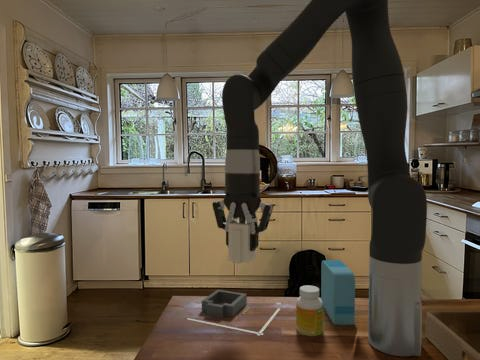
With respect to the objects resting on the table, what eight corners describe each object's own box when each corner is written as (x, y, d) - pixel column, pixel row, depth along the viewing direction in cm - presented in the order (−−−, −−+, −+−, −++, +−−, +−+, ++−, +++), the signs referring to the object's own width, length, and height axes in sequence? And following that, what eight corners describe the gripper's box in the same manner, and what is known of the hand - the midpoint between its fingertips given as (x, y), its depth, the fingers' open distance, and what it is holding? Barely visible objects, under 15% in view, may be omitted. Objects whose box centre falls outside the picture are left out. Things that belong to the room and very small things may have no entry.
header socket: (253, 305, 85) (253, 295, 85) (237, 321, 76) (237, 310, 76) (217, 299, 89) (217, 289, 89) (198, 313, 80) (198, 302, 80)
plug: (255, 257, 78) (255, 215, 77) (245, 264, 73) (246, 219, 72) (236, 255, 80) (237, 213, 79) (226, 261, 74) (226, 217, 74)
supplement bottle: (321, 343, 69) (321, 294, 68) (293, 338, 71) (293, 291, 70) (324, 330, 74) (324, 285, 73) (298, 326, 76) (299, 282, 75)
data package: (354, 329, 74) (355, 274, 74) (333, 329, 74) (334, 274, 74) (339, 306, 86) (339, 258, 86) (321, 306, 86) (321, 258, 86)
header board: (282, 313, 82) (282, 308, 82) (261, 341, 70) (261, 336, 70) (215, 301, 90) (215, 297, 90) (185, 324, 77) (185, 320, 77)
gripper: (279, 171, 76) (278, 248, 77) (220, 170, 82) (220, 242, 83) (268, 172, 69) (267, 257, 70) (205, 171, 75) (204, 249, 76)
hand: (241, 248), depth 77 cm, fingers closed on plug, 4 cm apart
